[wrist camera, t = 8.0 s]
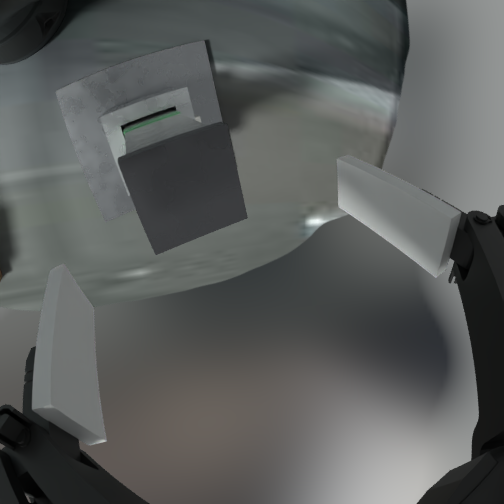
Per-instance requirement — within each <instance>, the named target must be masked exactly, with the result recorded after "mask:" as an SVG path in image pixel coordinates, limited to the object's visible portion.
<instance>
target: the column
mask: <svg viewBox="0 0 504 504" xmlns="http://www.w3.org/2000/svg"><path fill="white" fill-rule="evenodd" d="M124 125H125V129H124V135H125V147H126V154H125V155H123V156H121V157H118V165H119V167H120V170H121V173H122V175H123V178H124V181H125V183H126V186H127V188H128V191H129V193H130V196H131V198H132V201H133V203H134V206H135V208H136V211H137V213H138V216H139V218H140V220H141V223H142V225H143V227H144V230H145V232H146V234H147V237H148V239H149V241H150V243H151V246H152V248H153V250H154V252H155V255H157V254H160V253H162V252H164V251H167V250H169V249H172V248H174V247H177V246H179V245H181V244H184V243H186V242H189V241H191V240H194V239H196V238H199V237H201V236H204V235H206V234H209V233H211V232H214V231H216V230H219V229H221V228H224V227H226V226H229V225H231V224H234V223H236V222H239V221H241V220H244V219H247V218H248V217H247V213H246V208H245V204H244V199H243V194H242V190H241V185H240V181H239V176H238V171H237V167H236V162H235V158H234V153H233V149H232V144H231V139H230V135H229V130H228V126H227V124H226V123H223V122H217V123H214V124H210V125H205V124H203V123H201V122H198V121H196V120H194V119H192V118H189V117H187V116H185V115H182V114H181V113H180V112H179V111H173V110H171V109H165V110H162V111H159V112H156V113H153V114H150V115H147V116H144V117H142V118H139V119H136V120H134V121H131V122H128V123H126V124H124Z"/></svg>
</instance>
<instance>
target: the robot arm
mask: <svg viewBox="0 0 504 504" xmlns="http://www.w3.org/2000/svg"><path fill="white" fill-rule="evenodd" d="M67 3H68V0H0V65H8V64H13V63H17V62H20V61H22V60H24V59H26V58H28V57H30V56H31V55H33V54H34V53H36V52H37V51H38V50H39V49H41V48H42V47H43V46H44V45H45V44H46V43H47V42H48V41H49V40H50V39H51V37H52V36H53V35H54V34H55V32H56V31H57V29H58V28H59V26H60V24H61V22H62V20H63V18H64V15H65V13H66V9H67ZM337 174H338V203H339V208H341V209H342V210H344V211H345V212H347V213H348V214H350V215H351V216H353V217H355V218H356V219H357V220H359V221H360V222H362V223H363V224H364V225H366V226H367V227H369V228H370V229H372V230H373V231H375V232H376V233H377V234H379V235H380V236H381V237H383V238H384V239H386V240H387V241H388V242H390V243H391V244H393V245H394V246H395V247H397V248H398V249H399V250H401V251H402V252H403V253H405V254H406V255H407V256H409V257H410V258H411V259H413V260H414V261H415V262H416V263H418V264H419V265H420V266H422V267H423V268H424V269H425V270H427V271H428V272H429V273H430V274H432V275H433V276H434V277H435V278H436V277H437V276H439V275H440V274H441V273H443V272H444V271H445V270H446V268H447V265H448V262H449V259H450V258H451V259H452V260H454V264H453V268H452V271H451V274H450V277H449V283H451V281H452V279H453V277H454V276H455V277H456V278H455V281H454V283H457V284H458V288H459V292H460V295H461V299H462V303H463V308H464V312H465V316H466V321H467V326H468V330H469V336H470V341H471V347H472V353H473V359H474V366H475V374H476V382H477V392H478V406H479V419H478V422H477V425H476V427H475V429H474V433H473V437H472V458H471V461H470V462H467V463H465V464H463V465H461V466H459V467H457V468H455V469H453V470H450V471H449V472H448V473H447V474H446V475H445V476H443V477H442V478H441V479H440V480H439V481H438V482H437V483H436V484H435V485H433V486H432V487H431V488H430V489H429V490H428V491H427V492H426V493H425V494H424V496H423V497H422V498H421V499H420V500H419V502H418V503H417V504H504V205H501V206H499V208H498V211H497V215H496V216H495V217H490V216H488V215H487V214H485V213H483V212H480V211H471V212H469V213H468V214H466V213H464V212H462V211H461V210H459V209H457V208H455V207H454V206H452V205H450V204H448V203H447V202H445V201H443V200H440V198H438V197H436V196H433V195H432V194H431V193H429V192H427V191H425V190H423V189H420V188H417V187H415V186H414V185H412V184H410V183H408V182H406V181H404V180H402V179H400V178H398V177H396V176H394V175H392V174H390V173H388V172H386V171H384V170H382V169H379V168H377V167H375V166H373V165H371V164H369V163H366V162H364V161H362V160H360V159H357V158H355V157H353V156H350V155H346V156H342V157H339V158H337ZM25 373H26V375H25V379H24V383H25V385H24V393H23V414H22V413H20V412H19V411H17V410H16V409H15V408H14V407H12V406H11V405H3V406H1V407H0V443H1V444H3V445H4V446H6V447H4V448H3V449H2V450H0V504H149V503H148V502H146V501H145V500H143V499H142V498H141V497H139V496H138V495H136V494H135V493H134V492H132V491H131V490H130V489H128V488H127V487H126V486H124V485H123V484H122V483H120V482H119V481H118V480H117V479H115V478H114V477H113V476H112V475H110V474H109V473H108V472H107V471H106V470H105V469H103V468H102V467H101V466H100V465H99V464H98V463H96V462H95V461H94V460H93V459H92V458H91V457H90V456H89V455H88V454H86V452H84V451H83V450H81V449H80V447H79V440H80V441H82V442H84V443H85V444H87V445H93V444H97V443H101V442H105V441H107V439H106V434H105V429H104V422H103V416H102V409H101V402H100V395H99V386H98V375H97V364H96V351H95V326H94V307H93V306H92V305H91V303H90V302H89V300H88V299H87V297H86V296H85V295H84V293H83V292H82V290H81V289H80V287H79V286H78V284H77V283H76V281H75V280H74V278H73V277H72V275H71V273H70V272H69V270H68V269H67V267H66V265H65V264H64V263H63V264H61V265H59V266H57V267H55V268H53V269H51V270H50V273H49V277H48V281H47V286H46V290H45V295H44V300H43V305H42V311H41V316H40V322H39V329H38V336H37V343H36V346H35V347H33V348H31V350H30V353H29V355H28V358H27V360H26V368H25ZM25 495H26V496H28V497H29V499H30V501H31V503H29V502H28V500H27V498H26V496H25Z"/></svg>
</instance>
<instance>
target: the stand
mask: <svg viewBox="0 0 504 504" xmlns="http://www.w3.org/2000/svg"><path fill="white" fill-rule="evenodd" d="M56 94H57V98H58V101H59V104H60V108H61V111H62V114H63V117H64V120H65V123H66V126H67V129H68V132H69V135H70V138H71V140H72V143H73V146H74V149H75V151H76V154H77V156H78V159H79V162H80V164H81V167H82V169H83V172H84V174H85V177H86V179H87V181H88V184H89V186H90V189H91V191H92V193H93V196H94V198H95V200H96V202H97V205H98V207H99V209H100V211H101V213H102V216H103V218H104V220H105V222H107V221H109V220H112V219H114V218H116V217H118V216H121V215H123V214H125V213H128V212H130V211H132V210H135V209H136V208H135V206H134V203H133V201H132V198H131V196H130V193H129V191H128V188H127V186H126V183H125V181H124V178H123V175H122V173H121V170H120V167H119V165H118V157H121V156H123V155H125V154H126V147H125V135H124V129H125V125H124V124H126V123H128V122H131V121H134V120H136V119H139V118H142V117H144V116H147V115H150V114H153V113H156V112H159V111H162V110H165V109H171V110H173V111H179V112H180V113H181V114H182V115H185V116H187V117H189V118H192V119H194V120H196V121H198V122H201V123H203V124H205V125H210V124H214V123H217V122H223V121H222V117H221V112H220V108H219V103H218V99H217V94H216V90H215V85H214V81H213V76H212V72H211V68H210V63H209V59H208V54H207V50H206V45H205V41H204V40H203V41H198V42H194V43H189V44H185V45H181V46H177V47H173V48H169V49H165V50H161V51H158V52H154V53H151V54H148V55H144V56H141V57H138V58H135V59H132V60H129V61H126V62H123V63H120V64H118V65H115V66H112V67H110V68H107V69H105V70H102V71H99V72H97V73H95V74H92V75H90V76H87V77H85V78H83V79H81V80H78V81H76V82H74V83H72V84H70V85H68V86H66V87H63V88H61V89H59V90H57V91H56Z"/></svg>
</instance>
